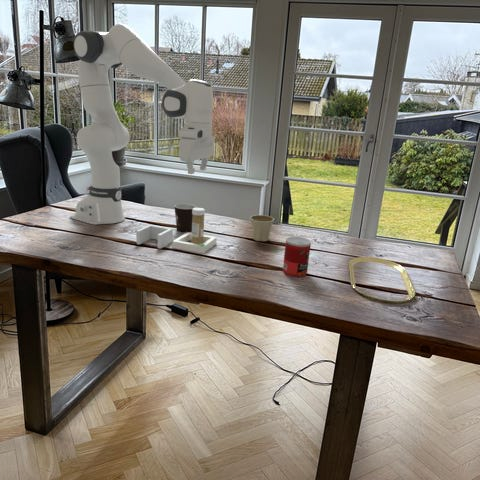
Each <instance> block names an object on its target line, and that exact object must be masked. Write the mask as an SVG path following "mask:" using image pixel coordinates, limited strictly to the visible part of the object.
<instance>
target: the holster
mask: <svg viewBox="0 0 480 480" xmlns="http://www.w3.org/2000/svg"><path fill="white" fill-rule="evenodd" d="M173 231H174V228H171V227H170V228H169V227H164V226H160V225H154V224H148V225H145V226H144V227H141V228H139V229H138V230H136V232H135V234H136V237H135V238H136V245H142V244H144V243H146V242H148V240H152V239H153V240H157V249H163V248H164V247H166V246H168V245H170V244H171V243H173V241H174V240H173V237H174V232H173Z"/></svg>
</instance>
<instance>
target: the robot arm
mask: <svg viewBox="0 0 480 480" xmlns="http://www.w3.org/2000/svg"><path fill="white" fill-rule="evenodd" d="M108 30H109V31H99V30H98V31H97V30H96V31H93V30H82V31H79V32H78V33H76V34H75V36H74V39H73V51H74V53H75V55H76V57H77V58H78V59H79V60H78V66H77V73H78V83H79V87H80V88H79V89H80V93H81V99H82V100H81V101H82V105H83V109H84V110H85V112H87V114H89V115H90V117H91V118H92V121H93V122H94V124H89V125H86V126H84V127H82V128H80V129H79V130H78V131H77V133H76V143H77V145H78V147H79V149H80V150H82V152H84V154H85V155H86V157H87V159H88V160H87V161H88V163H89V165H90V174H91V185H90V186H88V187H87V188H86V191H88V194H87V195H86V196H84V198H82V199H81V200H79V201H78V202H77V203H76V206H75V211H74V212H73V213H71V214H70V216H69V217H70V219H74V220H75V221H80V222H84V223H87V224H90V225H94V226H95V225H102V224H103V225H105V224H106V225H107V224H115V223H121V222H124V220H126V217H125V214H124V211H123V205H122V204H123V203H122V185H121V172H120V171H121V170H120V167H119V165H118V164H117V163H116V162H115V159H114V157H113V152H116V151H120V150H122V149H124V148H125V147H127V146H128V145H129V143H130V140H131V138H130V137H131V135H130V132H129V129H128V128H127V127H126V126H125V125H124V124H123V123H122V121H121V120H120V118H119V116H118V113H117V111H116V108H115V105H114V101H113V95H112V91H111V86H110V85H111V84H110V79H109V70H110V68H112V69H113V70H116V69H117V68H118V67H120V66H121V65H123V67H124V68H125V69H126V70H128V71H129V72H130V73H131V74H133V75H134V76H136V77H137V78H138V77H139V78H142V79H146V80H151V81H153V82H157V83H159V84H161V85H162V86H164V87H165V88H167V90H166V91H165V92H164V93H163V96H162V99H161V107H162V110H163V113H164V114H165V115H166V116H167V117H169V118H171V119H174V120H175V119H180V120H185V124H184V125H183V127H182V128H180V129H179V131H178V137H179V138H180V139H179V148H178V151H179V153H178V155H179V159H180V161H181V162H186V163H185V164H186V167H187V174H188V175H194V174H195V171H196V170H195V168H194V164H195V161H199V160H201V163H200V164H199V170H200V171H206V170H207V165H208V163H209V158H210V157H213V156H214V153H215V150H214V149H215V140H214V139H215V138H214V136H213V132H212V131H213V117H212V113H213V110H214V91H213V87H212V85H211V84H210V83H209V82H207V81H204V80H201V79H196V78H194V79H193V78H192V79H191V78H190V79H189V80H188V81H186V80H185V79H184V78H183V77H182V76H180V75H179V74H178V73H177V71H175V70H174V69H173V68H172V67H171V66H170V65H169V64H168V63H166V62H165V61H164V59H162V57H160V56H159V55H158V54H157V53H156V52H155V51H154V50H153V49H152V48H151V47H150V46H149V45H148V44H147V42H146V41H145V40H144V39H143V38H142V37H141V36H140V35H139V34H138V33H137V32H135V31H134V30H133V29H132V28H130V27H129V26H128V25H126V24H123V23H118V24H114V25H113V26H111V27H110V29H108Z"/></svg>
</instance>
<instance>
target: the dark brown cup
mask: <svg viewBox="0 0 480 480" xmlns="http://www.w3.org/2000/svg"><path fill="white" fill-rule="evenodd" d="M173 207H174V215H175V225H176V226H175V227H176V232H179V233H182V234H185V233H187V232H189V233H192V217H193V215H192V209H193V208H197V206H196V205H195V204H191V203H177V204H175V205H174V206H173Z"/></svg>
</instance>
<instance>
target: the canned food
mask: <svg viewBox="0 0 480 480" xmlns="http://www.w3.org/2000/svg"><path fill="white" fill-rule="evenodd" d="M311 243H312V242H311V241H310V240H309V239H307V238H305V237H299V236H291V237H287V238H286V239H285V244H284V255H283V256H284V257H283V265H282V270H283V273H284V275H286V276H289V277H293V278H302V277H306V275H307V273H308V267H309V260H310V252H311Z"/></svg>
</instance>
